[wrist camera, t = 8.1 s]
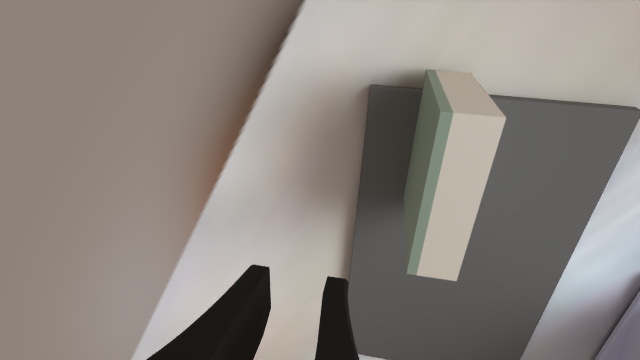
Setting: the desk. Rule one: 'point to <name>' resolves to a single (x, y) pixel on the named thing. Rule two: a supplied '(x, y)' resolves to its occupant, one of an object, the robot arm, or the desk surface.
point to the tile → (448, 171)
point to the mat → (478, 228)
